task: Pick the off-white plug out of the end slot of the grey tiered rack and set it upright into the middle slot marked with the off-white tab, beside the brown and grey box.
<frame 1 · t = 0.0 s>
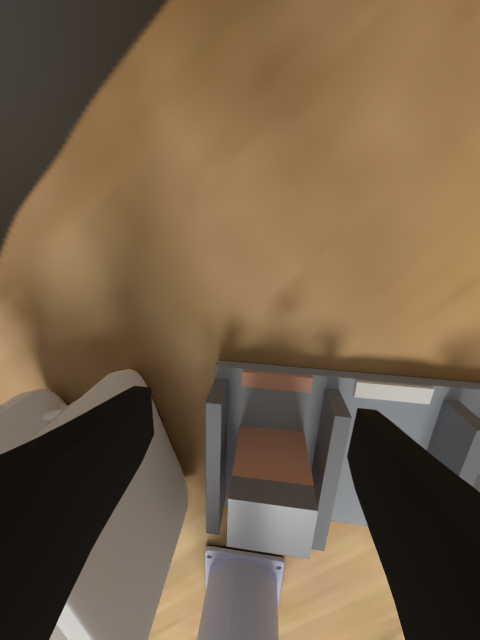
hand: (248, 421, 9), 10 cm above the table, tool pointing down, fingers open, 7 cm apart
grey tiered rack: (368, 450, 21), on the table
brown and grey box: (269, 449, 21), point 1 cm above the table, touching grey tiered rack
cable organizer: (121, 438, 24), on the table
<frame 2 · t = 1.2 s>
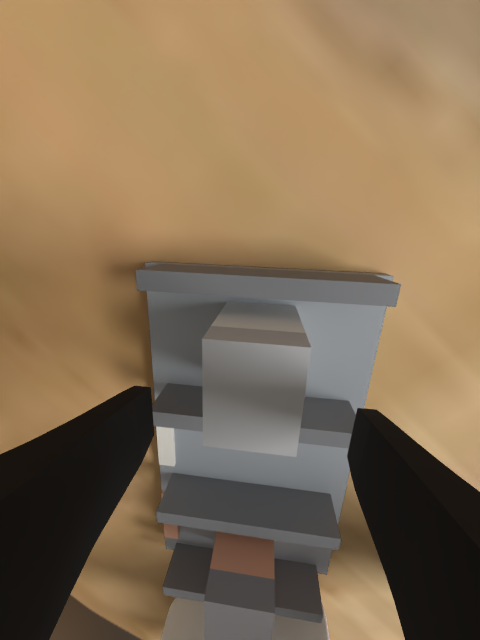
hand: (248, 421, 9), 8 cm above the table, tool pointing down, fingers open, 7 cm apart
grey tiered rack: (252, 435, 19), on the table
white plug: (258, 342, 16), point 1 cm above the table, touching grey tiered rack
brown and grey box: (246, 524, 21), point 1 cm above the table, touching grey tiered rack
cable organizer: (260, 607, 26), on the table
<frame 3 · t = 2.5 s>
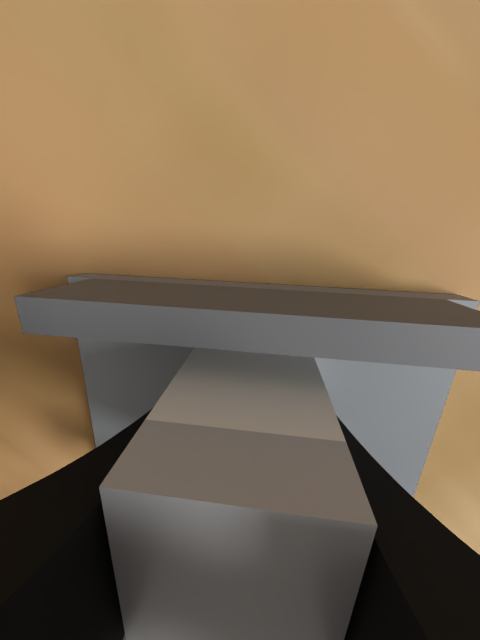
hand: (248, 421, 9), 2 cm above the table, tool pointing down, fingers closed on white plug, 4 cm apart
grey tiered rack: (244, 517, 14), on the table
white plug: (251, 400, 10), point 1 cm above the table, touching grey tiered rack, gripper
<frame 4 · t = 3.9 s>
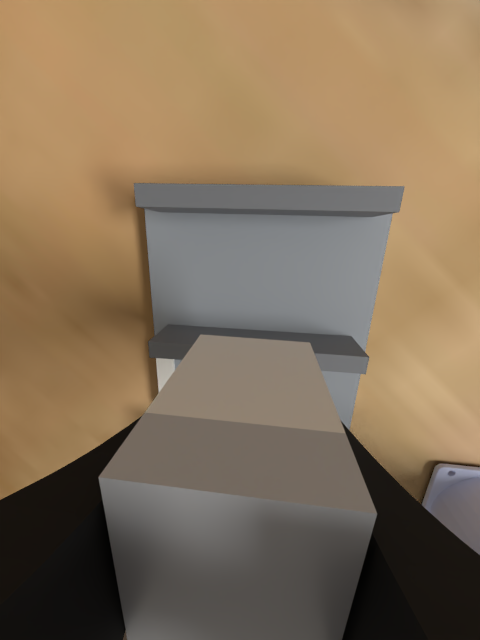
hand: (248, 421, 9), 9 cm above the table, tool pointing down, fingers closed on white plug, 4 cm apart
grey tiered rack: (254, 381, 19), on the table
white plug: (250, 397, 10), point 8 cm above the table, touching gripper
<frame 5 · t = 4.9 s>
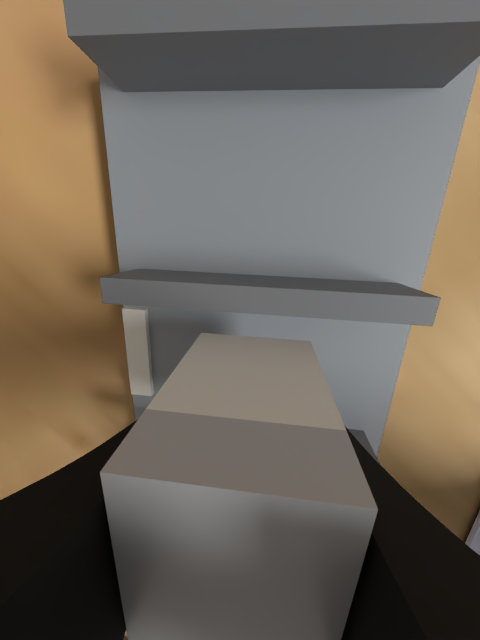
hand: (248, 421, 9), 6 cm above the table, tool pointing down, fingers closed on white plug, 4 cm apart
grey tiered rack: (257, 354, 14), on the table
white plug: (251, 395, 10), point 4 cm above the table, touching gripper
when the fingers open (3 cm above the table, at t = 5.7 s): white plug stays where it is, resting on grey tiered rack.
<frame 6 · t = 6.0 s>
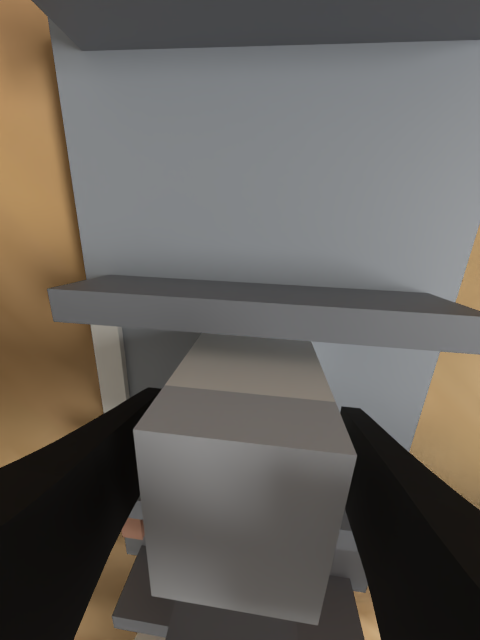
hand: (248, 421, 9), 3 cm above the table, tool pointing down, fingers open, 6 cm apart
grey tiered rack: (254, 374, 12), on the table
white plug: (253, 383, 11), point 1 cm above the table, touching grey tiered rack
brown and grey box: (244, 517, 14), point 1 cm above the table, touching grey tiered rack
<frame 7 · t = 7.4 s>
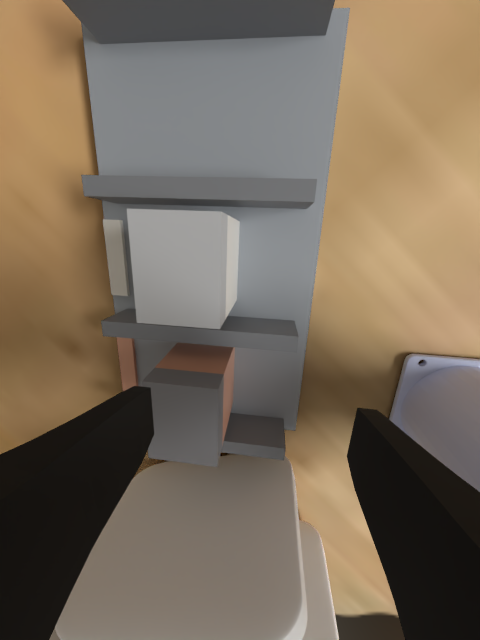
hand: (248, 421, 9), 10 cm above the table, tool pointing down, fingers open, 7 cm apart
grey tiered rack: (211, 262, 18), on the table
white plug: (208, 260, 17), point 1 cm above the table, touching grey tiered rack
brown and grey box: (207, 371, 19), point 1 cm above the table, touching grey tiered rack
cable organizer: (231, 491, 24), on the table
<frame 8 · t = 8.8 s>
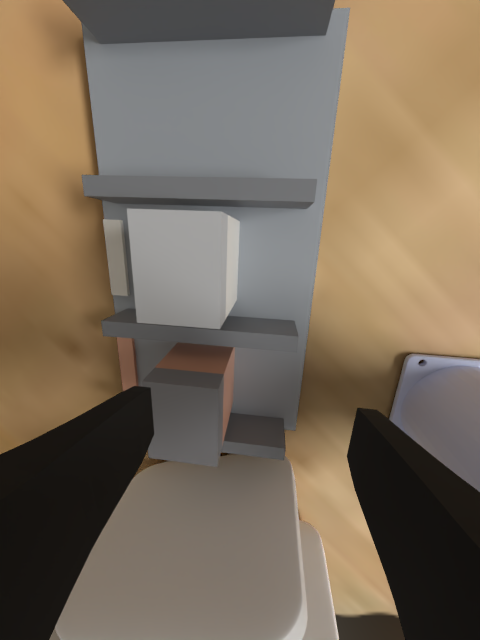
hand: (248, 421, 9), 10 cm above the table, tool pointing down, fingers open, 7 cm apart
grey tiered rack: (211, 262, 18), on the table
white plug: (208, 260, 17), point 1 cm above the table, touching grey tiered rack
brown and grey box: (207, 371, 19), point 1 cm above the table, touching grey tiered rack
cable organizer: (231, 491, 24), on the table
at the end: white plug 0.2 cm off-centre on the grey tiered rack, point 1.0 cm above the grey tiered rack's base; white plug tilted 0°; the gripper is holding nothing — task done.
